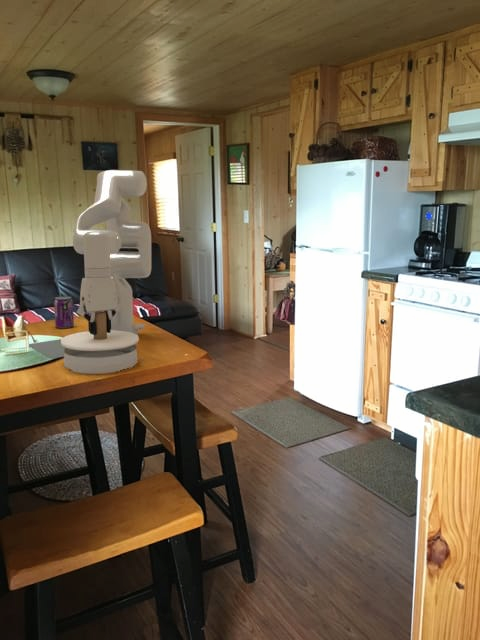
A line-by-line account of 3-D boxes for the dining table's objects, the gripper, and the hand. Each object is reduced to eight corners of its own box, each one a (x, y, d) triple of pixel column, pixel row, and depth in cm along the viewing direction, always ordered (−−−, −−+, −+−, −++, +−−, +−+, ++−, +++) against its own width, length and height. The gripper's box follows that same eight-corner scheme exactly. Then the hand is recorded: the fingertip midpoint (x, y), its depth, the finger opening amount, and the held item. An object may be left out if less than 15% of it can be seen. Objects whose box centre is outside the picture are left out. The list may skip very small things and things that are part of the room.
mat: (87, 336, 203) (87, 335, 203) (117, 348, 186) (117, 347, 186) (25, 346, 188) (25, 344, 188) (52, 360, 171) (51, 358, 171)
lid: (116, 330, 183) (115, 303, 181) (152, 342, 166) (152, 313, 164) (48, 339, 168) (47, 311, 166) (81, 355, 151) (80, 323, 149)
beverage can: (70, 329, 215) (69, 299, 213) (52, 328, 216) (51, 298, 213) (76, 325, 222) (74, 296, 220) (59, 325, 222) (57, 296, 220)
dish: (149, 367, 165) (148, 351, 164) (75, 378, 154) (74, 361, 153) (123, 351, 184) (122, 337, 183) (55, 360, 172) (54, 345, 171)
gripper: (116, 270, 171) (118, 327, 175) (65, 274, 160) (68, 334, 164) (129, 272, 166) (130, 331, 169) (76, 276, 155) (79, 339, 158)
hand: (100, 332), depth 167 cm, fingers closed on lid, 4 cm apart
